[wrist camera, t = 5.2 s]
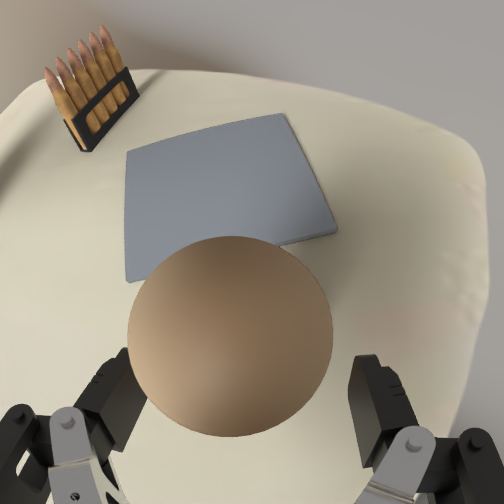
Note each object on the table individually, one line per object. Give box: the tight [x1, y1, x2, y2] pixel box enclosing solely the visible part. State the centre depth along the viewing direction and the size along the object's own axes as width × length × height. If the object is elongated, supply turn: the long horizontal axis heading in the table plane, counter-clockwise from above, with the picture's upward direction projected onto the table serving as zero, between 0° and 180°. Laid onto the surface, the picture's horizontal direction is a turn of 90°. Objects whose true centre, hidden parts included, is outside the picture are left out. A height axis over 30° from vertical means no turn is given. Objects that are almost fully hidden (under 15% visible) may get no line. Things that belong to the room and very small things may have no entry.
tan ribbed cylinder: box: [127, 236, 333, 437], centre depth 12 cm, size 6×6×13 cm
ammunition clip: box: [44, 25, 139, 152], centre depth 25 cm, size 11×2×12 cm, turn 160°
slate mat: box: [124, 113, 337, 283], centre depth 24 cm, size 16×14×1 cm
